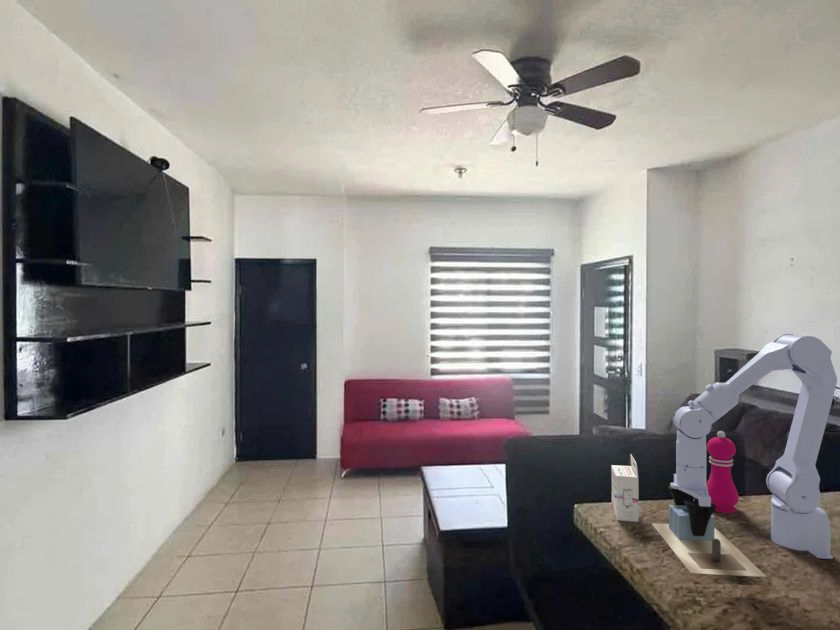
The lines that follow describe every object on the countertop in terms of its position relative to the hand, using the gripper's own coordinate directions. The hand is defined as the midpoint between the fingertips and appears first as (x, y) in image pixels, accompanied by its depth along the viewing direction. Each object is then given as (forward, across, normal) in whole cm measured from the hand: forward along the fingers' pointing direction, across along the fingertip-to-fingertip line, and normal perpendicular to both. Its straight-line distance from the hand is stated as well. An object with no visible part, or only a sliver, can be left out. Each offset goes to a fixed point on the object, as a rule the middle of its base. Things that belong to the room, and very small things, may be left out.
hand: (690, 527), depth 112 cm
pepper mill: (+3, -16, +13) cm, 21 cm away
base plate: (+3, +6, 0) cm, 7 cm away
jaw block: (+1, 0, 0) cm, 1 cm away
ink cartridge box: (+3, -10, -11) cm, 15 cm away
